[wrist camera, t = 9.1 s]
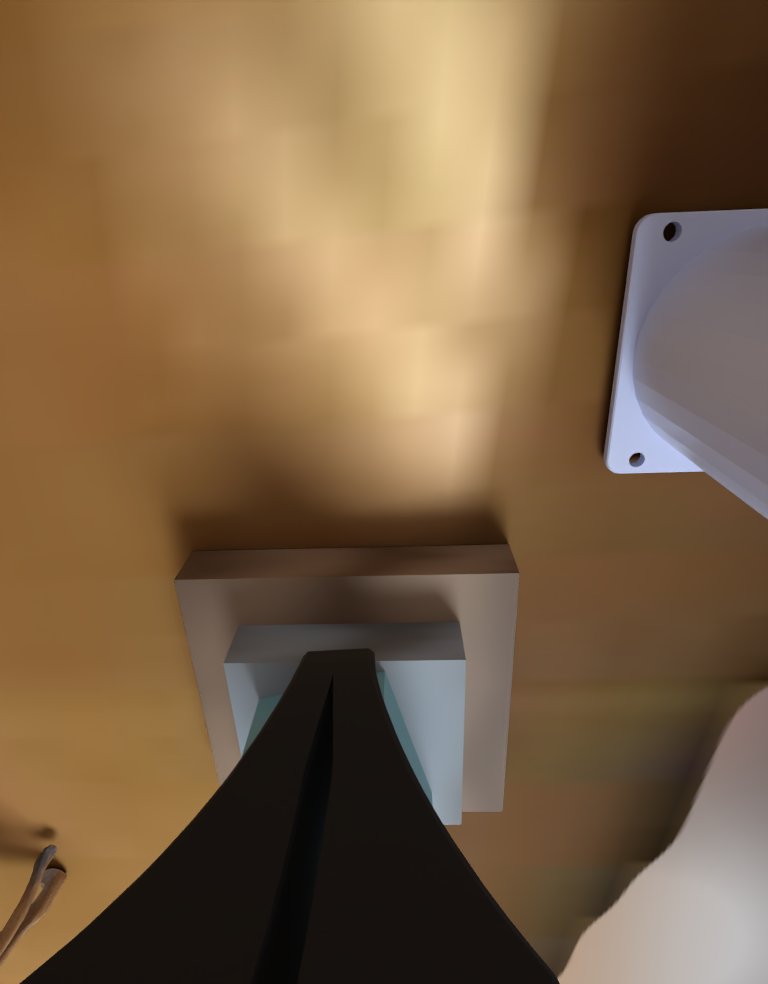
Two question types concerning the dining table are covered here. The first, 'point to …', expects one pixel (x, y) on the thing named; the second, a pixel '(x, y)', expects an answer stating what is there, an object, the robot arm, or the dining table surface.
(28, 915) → the lion figurine
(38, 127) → the dining table surface
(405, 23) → the dining table surface
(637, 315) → the robot arm
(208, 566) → the tower base
